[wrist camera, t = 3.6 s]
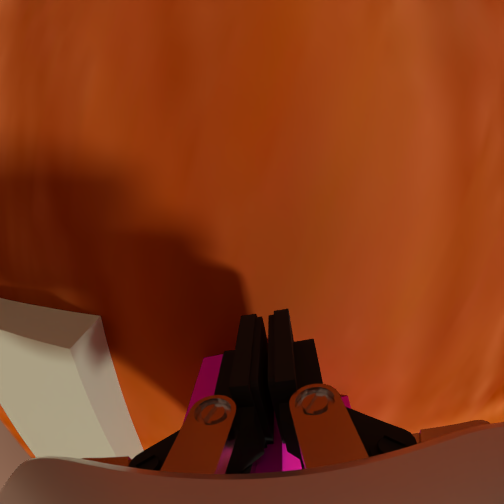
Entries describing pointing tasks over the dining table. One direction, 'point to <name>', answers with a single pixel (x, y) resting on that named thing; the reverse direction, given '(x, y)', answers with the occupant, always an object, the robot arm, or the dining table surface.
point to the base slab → (62, 384)
